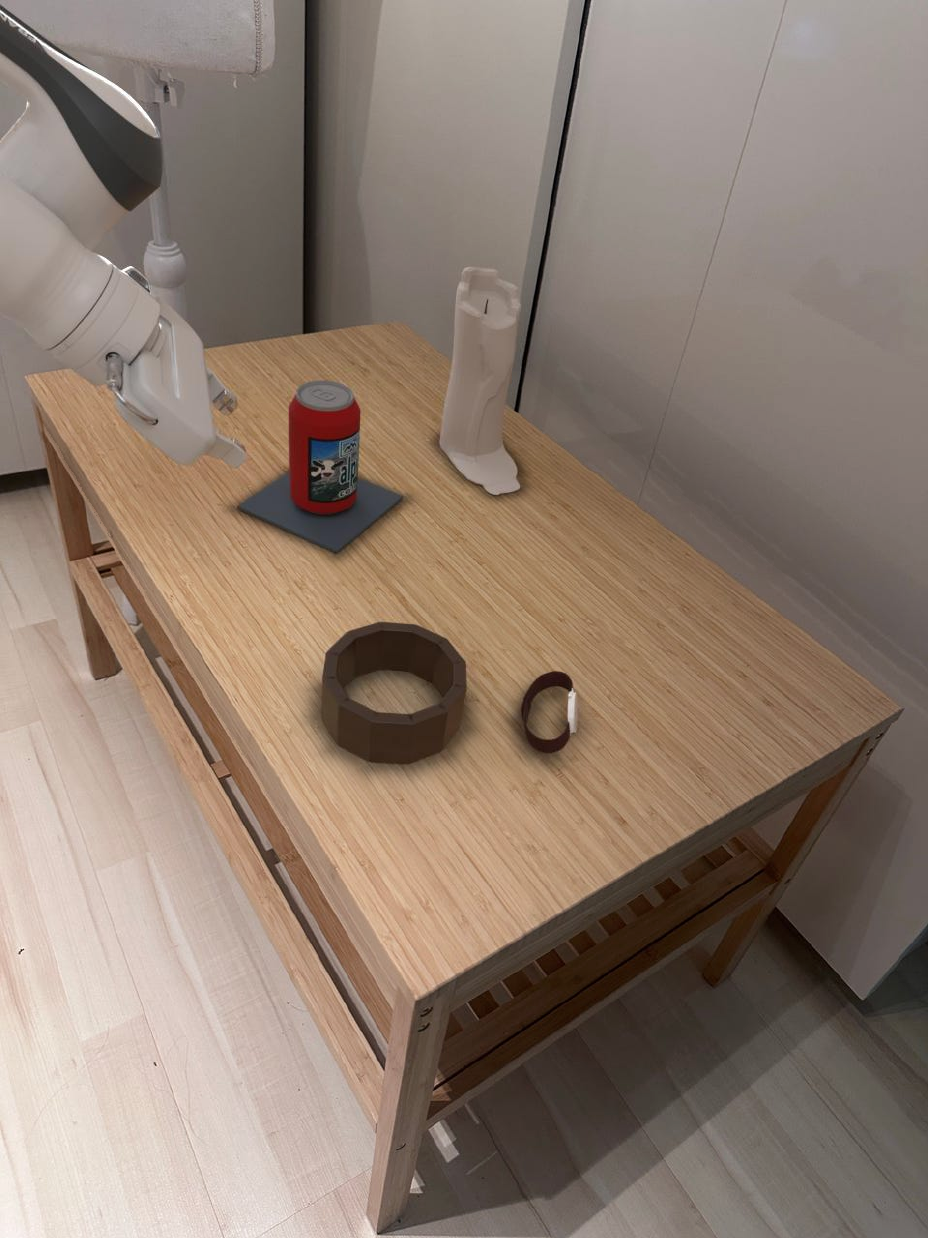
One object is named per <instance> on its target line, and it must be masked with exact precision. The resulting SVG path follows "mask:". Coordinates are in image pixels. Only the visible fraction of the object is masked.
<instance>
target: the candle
mask: <svg viewBox="0 0 928 1238" xmlns="http://www.w3.org/2000/svg"><path fill="white" fill-rule="evenodd" d="M521 311H522V305H521V302H520V289H519V286H517V285H516V284H513V283H512V282H510V281H506V280H503V279H502V278H500V276H499V271H498V270H496V269H495V268H487V267H486V268H485V267H478V266H467V267H464V268H463V270H462V272H461V275H460V279H459V282H458V286H457V289H456V296H455V309H454V331H453V347H452V348H453V351H452V361H451V368H450V375H449V380H448V385H447V390H446V394H445V399H444V404H443V410H442V418H441V425H440V434H439V447H440V449H441V451H443V452H444V454H445V455H446V456H447V457H448V459H449V461H450V462H451V463H452V464H453V466H454V467H455V468H456V469H457V471H458V472H459V473H460V474H461V475H462V476H463V477H465V479H467V480H468V481H470V482H472V483H473V484H476V485H479V486H482V487H483V489H484V490H485V491H486V492H488V493H489V494H491V495H493V496H499V495H501V494H508V493H513V492H516V491H518V490H520V488H521V485H520V483H519V480H518V478H517V476H518V467H517V464H516V461H515V460H514V459H513V458H512V457H511V455H510V454H509V452H507V450H506V448H505V445H504V442H503V430H504V418H505V409H506V401H507V397H508V396H507V395H508V391H509V386H510V381H511V376H512V372H513V367H514V362H515V357H516V356H515V355H516V347H517V336H518V328H519V321H520V317H521Z"/></svg>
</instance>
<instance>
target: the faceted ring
mask: <svg viewBox="0 0 928 1238" xmlns="http://www.w3.org/2000/svg"><path fill="white" fill-rule="evenodd" d="M379 670H383V671H385V670H386V671H398V672H399V671H400V672H408V673H410V674H412V675H415V676H417V677H419V678H421V679H423V680H425V681H427V682H429V683H431V684H433V686H434V688H435V689H436V690H437V692H438V693H439V695H441V696H442V699H441V700H440V701H439V702H438V703H436V704H435V705H434V704H433V705H431V706H429V707H426V708H423V709H421V710H418V711H415V712H412V713H397V712H396V713H395V712H383V711H382V712H380V711H376V710H374V709H371V708H370V707H367V706H366V705H364V704H362V703H360V702H358V701H356V700H354V699H352V698H350V697H349V695H348V693H347V692H346V690H345V688H346V687H347V685H348V684H349V683H350V682H351V681H352V680H353V679H355V678H359V677H360V676H363V675H367V674H369V673H373V672H375V671H379ZM466 694H467V665H466V660H465V659H464V657H463V656H462V655H461V654H460V653H459V651H458V650H457V649H456V648H455V647H454V646H453V644H452V643H451V642H450V640H449V639H448V638H446V637H445V636H442V635H440V634H438V633H436V632H434V631H432V630H429V629H427V628H425V627H423V626H421V625H418V624H415V623H404V622H389V621H377V622H374V623H371V624H368V625H363V626H361V627H357V628H354V629H351V630H348V631H346V632H345V633H343V635H342V636H341V637H340V638H339V639H338V640H336V641H335V643H333V644H332V646H331V647H330V648H329V649H327V651H326V652H325V655H324V663H323V670H322V677H321V715H320V716H321V718H320V719H321V720H322V722H323V723H324V726H325V727H326V729H327V730H328V732H329V733H330V735H331V736H332V738H333V741H335V743H336V744H337V746H339V747H340V748H342V749H345V750H346V751H348V752H350V753H352V754H354V755H356V756H357V757H360V758H361V759H363V760H365V761H368V762H370V763H383V764H396V765H397V764H399V765H410V764H413V763H415V762H418V761H420V760H423V759H426V758H429V757H431V756H433V755H436V754H439V753H441V752H442V751H443V750H444V749H445V748H446V747H447V745H448V744H449V743H450V741H451V740H452V738H453V737H454V736H455V735H456V733H457V732H458V731H459V730H460V727H461V722H462V716H463V711H464V707H465V706H464V705H465V699H466Z"/></svg>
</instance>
